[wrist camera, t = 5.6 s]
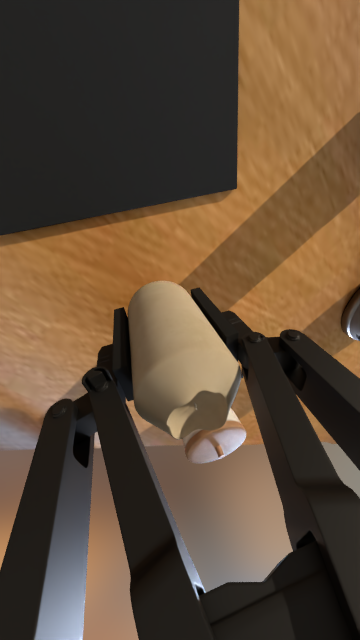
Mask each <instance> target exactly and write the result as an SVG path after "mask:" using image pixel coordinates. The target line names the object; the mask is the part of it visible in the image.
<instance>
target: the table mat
mask: <svg viewBox="0 0 360 640" xmlns="http://www.w3.org/2000/svg"><path fill="white" fill-rule="evenodd" d="M238 47H239V0H0V235H5V234H10V233H15V232H20V231H25V230H30V229H35V228H40V227H45V226H50V225H55V224H61V223H66V222H71V221H76V220H81V219H86V218H91V217H96V216H101V215H106V214H111V213H116V212H121V211H126V210H131V209H136V208H141V207H146V206H151V205H156V204H161V203H166V202H171V201H177V200H182V199H187V198H192V197H197V196H202V195H207V194H212V193H217V192H222V191H227V190H232V189H236V188H237V128H238Z"/></svg>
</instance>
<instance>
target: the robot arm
mask: <svg viewBox="0 0 360 640" xmlns="http://www.w3.org/2000/svg"><path fill="white" fill-rule="evenodd" d="M191 296H192V299H193V300H194V302H195V303H196V305H197V306H198V307H199V309H200V310H201V312H202V313H203V314H204V316H205V317H206V319H207V320H208V321H209V323H210V324H211V326H212V327H213V328H214V330H215V331H216V333H217V334H218V335H219V337H220V338H221V340H222V341H223V342H224V344H225V345H226V347H227V348H228V349H229V351H230V352H231V354H232V355H233V356H234V358H235V359H236V361H237V362H238V360H239V361H240V363H241V364H242V372H241V378H243V376H244V379H245V382H246V386H247V389H248V392H249V396H250V399H251V402H252V405H253V409H254V412H255V415H256V419H257V422H258V425H259V429H260V432H261V435H262V439H263V442H264V445H265V448H266V452H267V455H268V458H269V462H270V465H271V468H272V472H273V475H274V478H275V481H276V485H277V488H278V491H279V494H280V498H281V501H282V505H283V509H284V517H285V523H286V528H287V532H288V535H289V539H290V542H291V546H292V549H293V552H291V553H289V554H288V555H287V556H286V557H285V558H284V559H283V560H282V561H280V562H279V563H278V564H277V566H276V567H275V568H274V569H273V570H272V571H271V573H270V574H269V575H268V576H267V577H266V578H265V580H264V581H263V582H228V583H226V584H223V585H221V586H219V587H217V588H215V589H213V590H211V591H209V592H207V593H206V592H205V590H204V587H203V585H202V582H201V580H200V578H199V575H198V573H197V571H196V568H195V566H194V564H193V562H192V559H191V557H190V555H189V553H188V551H187V549H186V546H185V544H184V542H183V539H182V537H181V534H180V532H179V530H178V527H177V525H176V522H175V520H174V518H173V515H172V513H171V510H170V508H169V506H168V503H167V501H166V498H165V496H164V493H163V491H162V489H161V487H160V484H159V481H158V479H157V476H156V474H155V472H154V469H153V467H152V464H151V462H150V460H149V457H148V455H147V452H146V450H145V447H144V445H143V443H142V440H141V438H140V435H139V433H138V430H137V428H136V426H135V423H134V421H133V418H132V416H131V414H130V411H129V409H128V407H127V405H126V399H127V400H128V401H131V400H134V396H133V383H132V369H131V355H130V341H129V328H128V317H127V315H126V312H125V309H124V307H123V308H119V309H115V310H114V330H113V344H110V345H107V346H103V347H102V348H101V349H100V351H99V353H98V360H97V367H95V368H92V369H91V370H89V371H88V372H87V373H86V374H85V375H84V376H83V378H82V384H83V385H84V387H85V388H86V390H87V391H88V393H86V394H85V395H84V396H82V397H80V398H79V399H77V400H75V401H72V400H71V399H62V400H60V401H58V402H56V403H55V404H54V405H52V406H51V407H50V408H49V410H48V411H47V413H46V415H45V418H44V421H43V425H42V428H41V432H40V435H39V439H38V442H37V445H36V449H35V452H34V456H33V460H32V463H31V466H30V470H29V473H28V476H27V480H26V483H25V487H24V490H23V494H22V497H21V501H20V504H19V508H18V511H17V514H16V518H15V521H14V525H13V528H12V532H11V535H10V539H9V542H8V546H7V549H6V552H5V556H4V559H3V563H2V567H1V570H0V640H83V624H84V623H83V622H84V607H85V589H86V572H87V555H88V538H89V537H88V536H89V521H90V504H91V487H92V486H91V485H92V469H93V452H94V435H95V432H97V431H98V435H99V439H100V444H101V448H102V452H103V457H104V460H105V465H106V469H107V474H108V478H109V482H110V487H111V491H112V495H113V499H114V504H115V508H116V513H117V517H118V521H119V525H120V530H121V534H122V538H123V543H124V547H125V551H126V555H127V560H128V564H129V569H130V575H131V582H130V596H131V603H132V609H133V615H134V619H135V623H136V629H137V633H138V638H139V640H360V498H359V497H358V496H357V494H356V493H355V492H354V491H353V490H352V489H351V488H349V487H348V486H346V485H345V484H344V483H343V482H342V481H341V480H340V478H339V477H338V475H337V473H336V471H335V469H334V467H333V465H332V463H331V461H330V459H329V457H328V456H327V453H326V452H325V450H324V448H323V446H322V444H321V442H320V440H319V438H318V436H317V434H316V432H315V431H314V429H313V427H312V425H311V423H310V421H309V419H308V417H307V415H306V413H305V411H304V409H303V408H302V406H301V404H300V402H299V400H298V398H297V396H298V397H299V398H300V399H301V401H302V402H303V403H304V404H305V405H306V407H307V408H308V409H309V410H310V411H311V413H312V414H313V415H314V416H315V417H316V419H317V420H318V421H319V422H320V423H321V425H322V426H323V427H324V428H325V429H326V431H327V432H328V433H329V434H330V435H331V437H332V438H333V439H334V440H335V441H336V443H337V444H338V445H339V446H340V447H341V449H342V450H343V451H344V452H345V453H346V455H347V456H348V457H349V458H350V459H351V461H352V462H353V463H354V464H355V465H356V467H357V468H358V469H359V470H360V379H359V378H358V377H357V376H356V375H354V374H353V373H352V372H351V371H349V370H348V369H347V368H346V367H344V366H343V365H342V364H341V363H339V362H338V361H337V360H336V359H334V358H333V357H332V356H331V355H329V354H328V353H327V352H326V351H324V350H323V349H322V348H321V347H319V346H318V345H317V344H316V343H314V342H313V341H312V340H311V339H309V338H308V337H307V336H306V335H304V334H303V333H301V332H300V331H297V330H291V329H289V330H284V331H282V332H281V333H280V337H265V336H264V335H263V334H261V333H258V332H253V331H252V330H251V329H250V328H249V327H248V326H247V325H246V324H245V323H244V322H243V321H242V320H241V319H240V318H239V317H238V316H237V315H236V314H235V313H233V312H231V311H225V312H222V313H221V312H220V311H219V310H218V308H217V307H216V306H215V305H214V304H213V303H212V302H211V300H210V299H209V298H208V297H207V296H206V295H205V294H204V292H203V291H202V290H201V289H200V288H196V289H192V290H191ZM341 327H342V330H343V332H344V333H345V334H347V335H348V336H350V337H352V338H353V339H356V340H358V341H360V289H359V290H358V291H357V292H356V293H355V295H354V296H353V297H352V299H351V300H350V302H349V303H348V305H347V307H346V309H345V311H344V314H343V316H342V321H341ZM296 395H297V396H296ZM125 397H126V398H125Z"/></svg>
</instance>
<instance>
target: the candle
mask: <svg viewBox="0 0 360 640" xmlns="http://www.w3.org/2000/svg"><path fill="white" fill-rule="evenodd" d="M128 328H129V341H130V355H131V369H132V383H133V396H134V405H135V408H136V411H137V412H138V414H139V415H140V416H141V417H142V418H143V419H145V420H146V421H148V422H149V423H151V424H153V425H155V426H156V427H158V428H160V429H162V430H163V431H165V432H167V433H168V434H170V435H171V436H172V437H173V438H175V439H179V440H180V439H183V438H184V437H186V436H187V435H189V434H190V433H192V432H193V431H195V430H197V429H199V430H209V431H211V430H217V429H219V428H221V427H222V426H223V425H224V424H225V423H226V421H227V417H228V414H229V410H230V408H231V405H232V403H233V401H234V398H235V396H236V394H237V391H238V388H239V384H240V381H241V369H240V366H239V364H238V362H237V361H236V359H235V358H234V356H233V355H232V354H231V352H230V351H229V349H228V348H227V347H226V345H225V344H224V342H223V341H222V340H221V338H220V337H219V335H218V334H217V333H216V331H215V330H214V328H213V327H212V326H211V324H210V323H209V321H208V320H207V319H206V317H205V316H204V314H203V313H202V312H201V310H200V309H199V307H198V306H197V305H196V303H195V302H194V300H193V299H192V298H191V296H190V295H189V294H188V292H187V291H186V290H185V289H184V288H182V287H181V286H179V285H178V284H176V283H173V282H169V281H156V282H152V283H149V284H147V285H145V286H143V287H141V288H140V289H139V290H138V291H137V292H136V293H135V294H134V296H133V297H132V299H131V301H130V304H129V307H128Z"/></svg>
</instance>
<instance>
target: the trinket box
mask: <svg viewBox="0 0 360 640" xmlns="http://www.w3.org/2000/svg"><path fill="white" fill-rule="evenodd" d="M245 437H246V430H245V428H244V427H243V425H242V424H241V423H240V421H239V419H238V417H237V416H236V414H235V413H234V411H233V410H232V409H231V408H230V410H229V414H228V417H227V421H226V423H225V424H224V425H223V426H222V427H221V428H219V429H217V430H211V431H209V430H199V429H197V430H195V431H193V432H192V433H190V434H189V435H187V436H186V437H184V438H183V443H184V446H185V453H186V456H187V459H188V460H189V461H191V462H193V463H207V462H211V461H214V460H217V459H221V458H223V457H224V456H226V455H228V454H230V453H231V452H232V451H234V450H235V449H237V448H238V447H239V446H240V445H241V444H242V442H243V441H244V439H245Z"/></svg>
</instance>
